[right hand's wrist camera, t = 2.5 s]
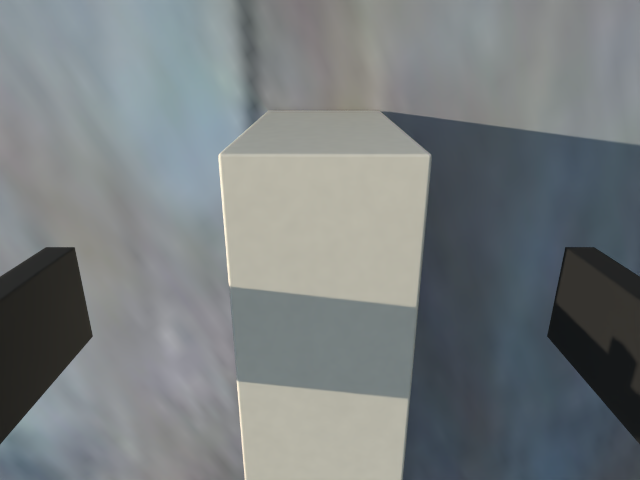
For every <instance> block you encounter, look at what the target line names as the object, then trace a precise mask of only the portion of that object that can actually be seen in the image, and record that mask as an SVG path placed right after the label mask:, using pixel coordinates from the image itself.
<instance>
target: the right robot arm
mask: <svg viewBox="0 0 640 480" xmlns="http://www.w3.org/2000/svg"><path fill="white" fill-rule="evenodd" d="M92 337H93V335H92V331H91V326H90V321H89V316H88V311H87V306H86V301H85V296H84V291H83V286H82V281H81V277H80V272H79V267H78V262H77V257H76V252H75V247H46V248H44V249H43V250H41V251H40V252H38V253H36V254H35V255H33V256H32V257H30V258H29V259H27V260H26V261H24V262H22V263H21V264H19V265H18V266H16V267H15V268H13V269H12V270H10V271H8V272H7V273H5V274H4V275H2V276H1V277H0V444H1V443H2V441H3V440H4V439H5V438H6V437H7V436H8V434H9V433H10V432H11V431H12V430H13V429H14V427H15V426H16V425H17V424H18V423H19V422H20V420H21V419H22V418H23V417H24V416H25V415H26V413H27V412H28V411H29V410H30V409H31V408H32V406H33V405H34V404H35V403H36V402H37V401H38V399H39V398H40V397H41V396H42V395H43V394H44V393H45V391H46V390H47V389H48V388H49V387H50V386H51V384H52V383H53V382H54V381H55V380H56V379H57V377H58V376H59V375H60V374H61V373H62V372H63V370H64V369H65V368H66V367H67V366H68V365H69V363H70V362H71V361H72V360H73V359H74V358H75V356H76V355H77V354H78V353H79V352H80V351H81V349H82V348H83V347H84V346H85V345H86V344H87V342H88V341H89V340H90V339H91V338H92ZM547 337H548V338H549V339H550V340H551V341H552V342H553V344H554V345H555V346H556V347H557V348H558V349H559V351H560V352H561V353H562V354H563V355H564V356H565V358H566V359H567V360H568V361H569V362H570V363H571V365H572V366H573V367H574V368H575V369H576V370H577V372H578V373H579V374H580V375H581V376H582V377H583V379H584V380H585V381H586V382H587V383H588V384H589V386H590V387H591V388H592V389H593V390H594V391H595V393H596V394H597V395H598V396H599V397H600V398H601V400H602V401H603V402H604V403H605V404H606V405H607V406H608V408H609V409H610V410H611V411H612V412H613V413H614V415H615V416H616V417H617V418H618V419H619V420H620V422H621V423H622V424H623V425H624V426H625V427H626V429H627V430H628V431H629V432H630V433H631V434H632V436H633V437H634V438H635V439H636V440H637V441H638V443H639V444H640V277H639V276H638V275H636V274H635V273H633V272H632V271H630V270H628V269H627V268H625V267H624V266H622V265H621V264H619V263H618V262H616V261H614V260H613V259H611V258H610V257H608V256H607V255H605V254H604V253H602V252H600V251H599V250H597V249H596V248H594V247H565V252H564V257H563V262H562V267H561V272H560V277H559V281H558V286H557V291H556V296H555V301H554V306H553V311H552V316H551V321H550V326H549V331H548V335H547Z"/></svg>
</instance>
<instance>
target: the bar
mask: <svg viewBox="0 0 640 480" xmlns="http://www.w3.org/2000/svg"><path fill="white" fill-rule="evenodd" d="M218 158H219V170H220V182H221V194H222V206H223V218H224V230H225V243H226V255H227V267H228V279H229V291H230V303H231V316H232V328H233V340H234V352H235V364H236V376H237V389H238V401H239V413H240V425H241V437H242V449H243V462H244V474H245V480H403V470H404V459H405V448H406V437H407V426H408V415H409V404H410V393H411V382H412V371H413V360H414V349H415V338H416V327H417V316H418V305H419V293H420V282H421V271H422V260H423V249H424V238H425V227H426V216H427V205H428V194H429V183H430V172H431V161H432V156H431V154H430V153H429V152H428V151H426V150H425V149H424V148H423V147H422V146H421V145H419V144H418V143H417V142H416V141H415V140H413V139H412V138H411V137H410V136H409V135H408V134H406V133H405V132H404V131H403V130H402V129H400V128H399V127H398V126H397V125H396V124H395V123H393V122H392V121H391V120H390V119H389V118H388V117H386V116H385V115H384V114H383V113H382V112H380V111H298V110H269V111H268V112H266V113H265V114H264V115H263V116H262V117H261V118H260V119H259V120H257V121H256V122H255V123H254V124H253V125H252V126H251V127H249V128H248V129H247V130H246V131H245V132H244V133H243V134H242V135H240V136H239V137H238V138H237V139H236V140H235V141H234V142H233V143H231V144H230V145H229V146H228V147H227V148H226V149H225V150H223V151H222V152H221V153H220V154H219V157H218Z"/></svg>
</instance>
